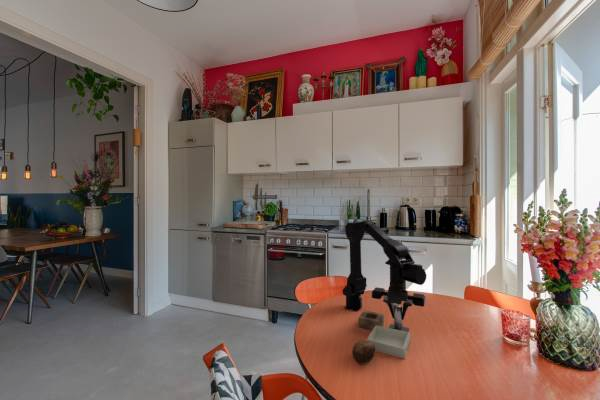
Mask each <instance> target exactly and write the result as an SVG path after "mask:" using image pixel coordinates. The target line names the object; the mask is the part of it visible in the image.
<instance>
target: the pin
mask: <svg viewBox="0 0 600 400" xmlns="http://www.w3.org/2000/svg"><path fill="white" fill-rule="evenodd" d="M402 311H403V305H402V304H394V318H393V325H394V329H396V330H400V331H402V327H403V320H402Z"/></svg>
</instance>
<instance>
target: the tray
mask: <svg viewBox="0 0 600 400" xmlns="http://www.w3.org/2000/svg"><path fill="white" fill-rule="evenodd" d="M366 340H367V341H371V342H372V343H373V344H374V345H375V352H378V353H382V354H386V355H389V356H394V357H398V358H401V359H406V355H407V351H408V349H409V346H410V342H411V332H405V331H400V330H396V329H391V328H389V327H385V326H383V327H382V326H377V325H375V327H374V329H373V330H372V331H370V333H369V335H368V336H367V338H366Z"/></svg>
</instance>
